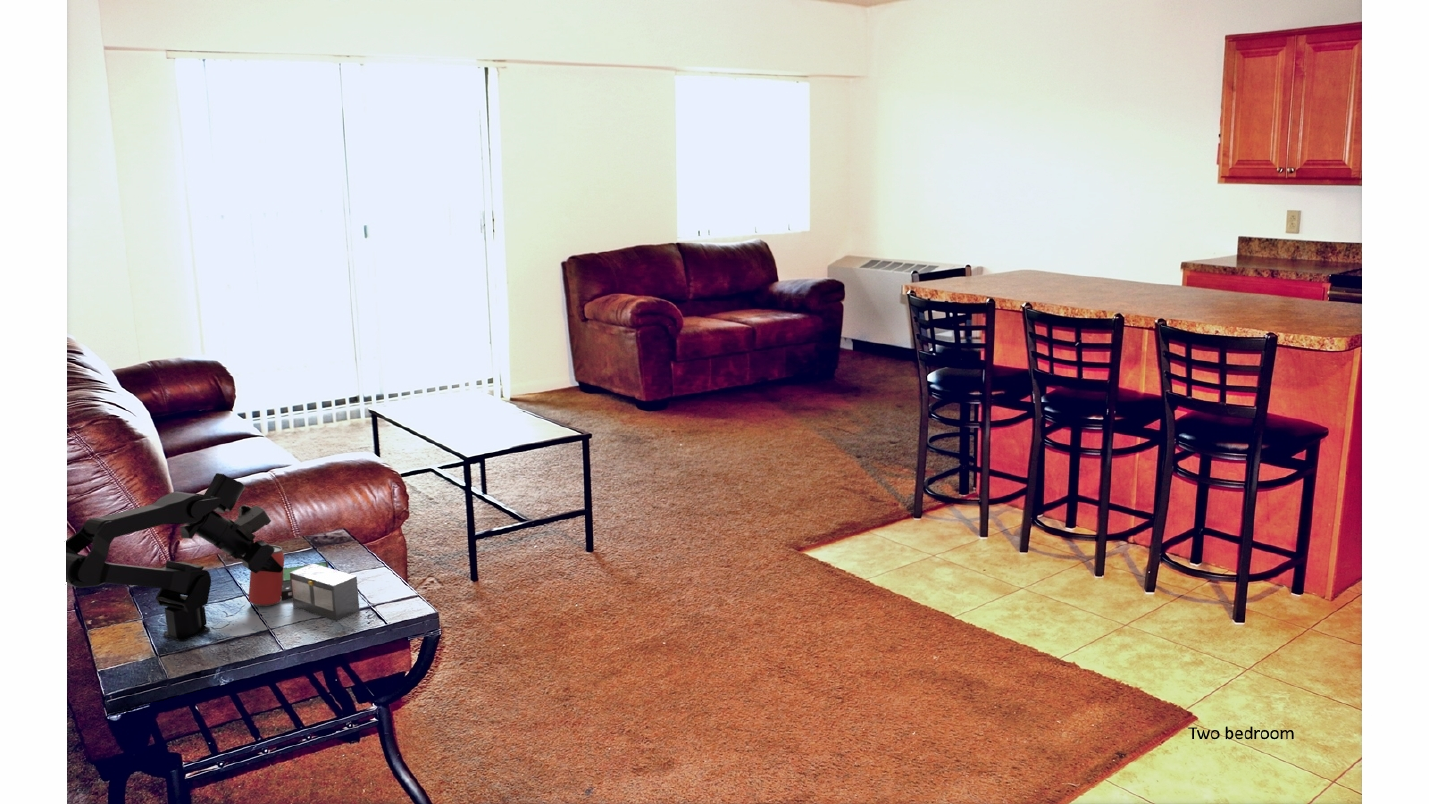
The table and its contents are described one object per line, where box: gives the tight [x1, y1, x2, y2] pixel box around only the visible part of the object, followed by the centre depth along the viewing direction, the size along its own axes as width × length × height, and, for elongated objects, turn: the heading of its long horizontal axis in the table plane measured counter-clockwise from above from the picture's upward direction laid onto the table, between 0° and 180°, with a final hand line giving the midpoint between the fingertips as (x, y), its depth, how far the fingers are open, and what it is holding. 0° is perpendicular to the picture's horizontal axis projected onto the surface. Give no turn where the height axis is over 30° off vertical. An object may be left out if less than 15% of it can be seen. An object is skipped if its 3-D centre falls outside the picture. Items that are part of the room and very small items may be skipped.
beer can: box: [248, 544, 285, 607], centre depth 231 cm, size 7×7×12 cm
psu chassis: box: [290, 563, 361, 622], centre depth 228 cm, size 6×14×8 cm, turn 58°
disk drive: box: [281, 561, 329, 601], centre depth 242 cm, size 10×3×15 cm
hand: (275, 566), depth 232 cm, fingers closed on beer can, 6 cm apart
